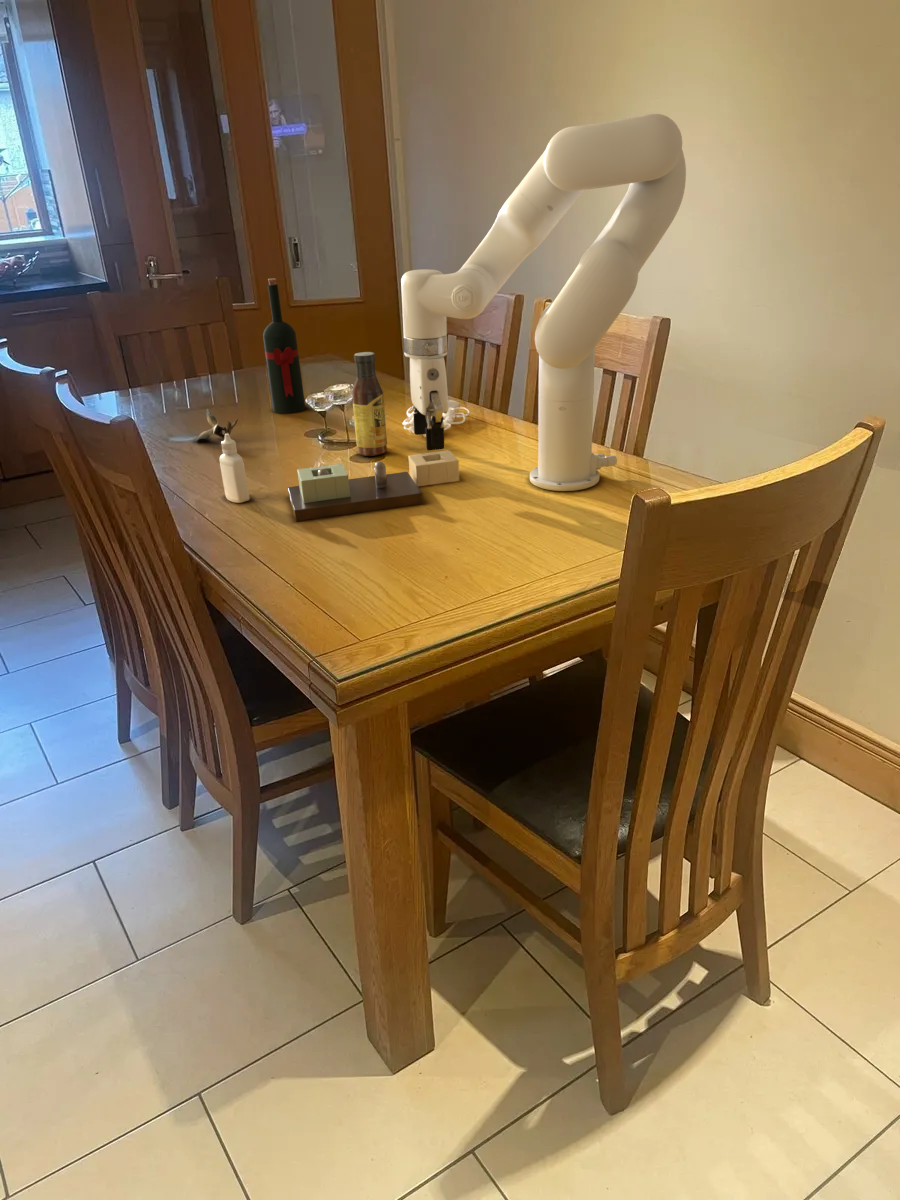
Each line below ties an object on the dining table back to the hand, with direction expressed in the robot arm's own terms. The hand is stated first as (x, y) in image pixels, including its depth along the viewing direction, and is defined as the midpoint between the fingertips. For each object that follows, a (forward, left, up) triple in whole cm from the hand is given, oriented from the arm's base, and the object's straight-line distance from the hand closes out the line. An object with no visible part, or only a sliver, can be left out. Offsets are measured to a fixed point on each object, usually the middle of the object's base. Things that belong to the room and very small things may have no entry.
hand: (428, 441), depth 158 cm
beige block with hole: (-1, 0, -7) cm, 7 cm away
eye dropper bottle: (+35, -3, -7) cm, 36 cm away
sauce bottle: (+7, -20, -7) cm, 22 cm away
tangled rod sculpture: (-10, -34, -7) cm, 36 cm away
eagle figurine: (+38, -42, -7) cm, 57 cm away
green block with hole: (+21, +6, -5) cm, 22 cm away
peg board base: (+15, +6, -7) cm, 18 cm away
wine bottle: (+20, -61, -7) cm, 65 cm away
